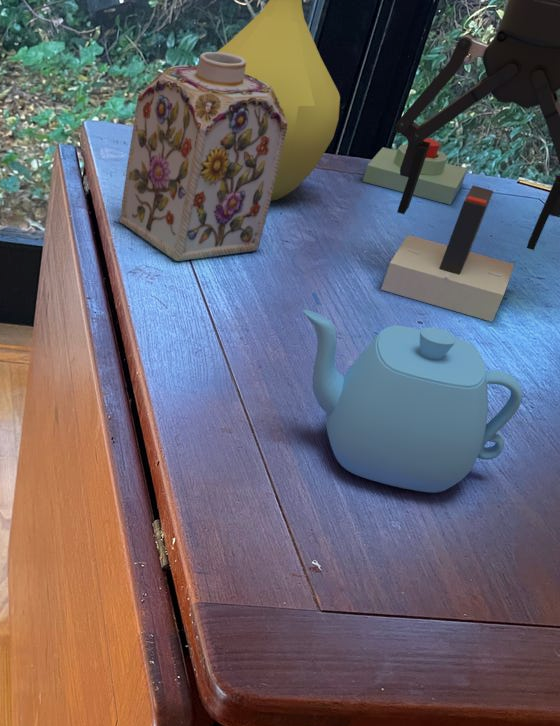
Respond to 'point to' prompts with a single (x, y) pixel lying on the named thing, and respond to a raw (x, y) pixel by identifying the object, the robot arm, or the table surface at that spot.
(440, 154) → the block
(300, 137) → the vase
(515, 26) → the robot arm
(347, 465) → the teapot
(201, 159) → the decorative jar
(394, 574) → the table surface
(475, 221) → the dark grey block
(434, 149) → the power button
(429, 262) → the beige flat block
